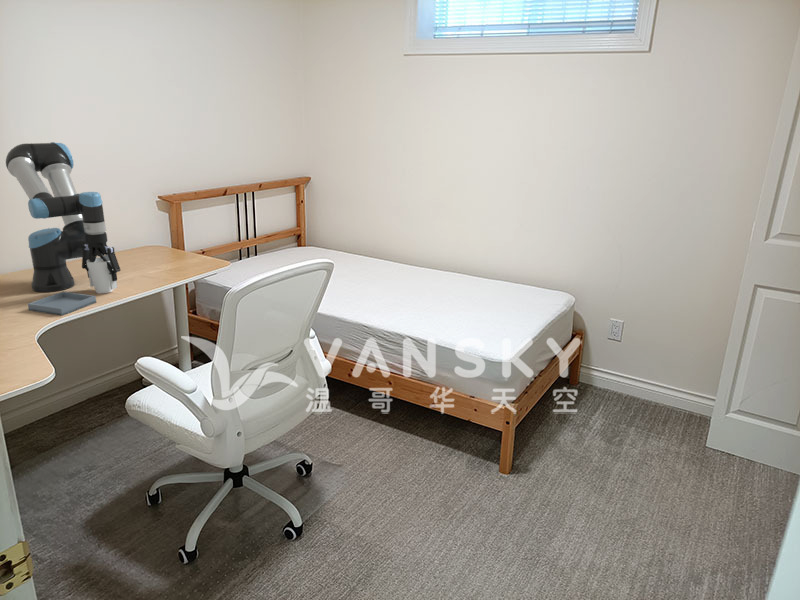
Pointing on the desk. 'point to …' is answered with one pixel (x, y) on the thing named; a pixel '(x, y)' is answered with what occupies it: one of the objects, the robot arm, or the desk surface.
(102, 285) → the foam cup
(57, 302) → the grey tray
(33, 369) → the desk surface
